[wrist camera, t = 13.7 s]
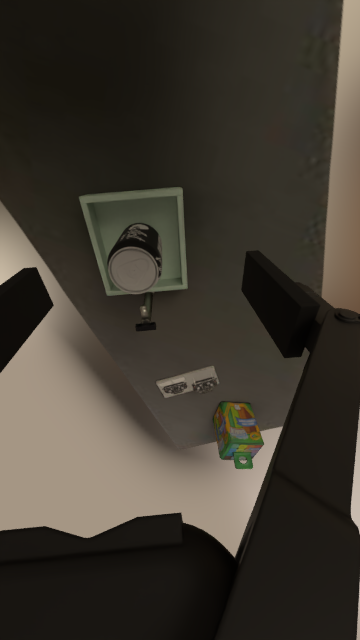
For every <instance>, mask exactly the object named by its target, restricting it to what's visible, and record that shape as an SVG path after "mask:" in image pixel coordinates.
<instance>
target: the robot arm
mask: <svg viewBox="0 0 360 640" xmlns="http://www.w3.org/2000/svg"><path fill="white" fill-rule="evenodd" d="M242 292H243V294H244V295H245V297H246V298H247V300H248V301H249V303H250V305H251V306H252V308H253V309H254V311H255V312H256V314H257V316H258V317H259V319H260V320H261V322H262V323H263V325H264V327H265V328H266V330H267V331H268V333H269V334H270V336H271V338H272V339H273V341H274V342H275V344H276V346H277V347H278V349H279V350H280V352H281V353H282V355H283V357H284V358H292V357H301V356H302V353H303V350H304V348H305V347H306V348H307V350H308V351H309V352H310V354H309V357H308V359H307V362H306V364H305V367H304V369H303V373H302V376H301V379H300V382H299V384H298V387H297V390H296V393H295V395H294V398H293V401H292V404H291V406H290V409H289V412H288V415H287V417H286V420H285V423H284V426H283V429H282V431H281V434H280V437H279V439H278V442H277V445H276V448H275V451H274V453H273V456H272V459H271V462H270V464H269V467H268V470H267V473H266V476H265V478H264V481H263V484H262V487H261V489H260V492H259V495H258V497H257V500H256V503H255V506H254V508H253V511H252V513H251V516H250V519H249V521H248V524H247V526H246V529H245V532H244V535H243V537H242V540H241V543H240V545H239V548H238V551H237V554H236V556H235V558H234V557H233V555H232V554H231V553H230V552H229V551H228V550H227V549H226V548H225V547H224V546H223V545H222V544H221V543H220V542H219V541H218V540H217V539H215V538H214V537H213V536H211V535H210V534H208V533H207V532H205V531H204V530H202V529H199V528H197V527H195V526H193V525H189V524H186V523H183V521H182V515H181V513H173V514H162V515H153V516H143V517H136V518H134V519H132V520H130V521H127V522H125V523H123V524H120V525H118V526H116V527H114V528H112V529H109V530H107V531H105V532H103V533H100V534H98V535H96V536H93V537H91V538H83V537H80V536H76V535H73V534H70V533H66V532H63V531H59V530H56V529H52V528H49V527H46V526H43V527H33V528H24V529H13V530H3V531H0V640H356V637H357V636H356V635H357V618H358V601H359V582H360V534H359V530H358V527H357V526H356V525H355V523H354V522H353V520H352V518H351V496H352V486H353V474H354V464H355V453H356V442H357V441H356V440H357V431H358V420H359V409H360V408H359V407H360V314H358V313H356V312H354V311H351V310H347V309H341V308H336V309H335V308H333V307H332V306H331V305H330V304H329V303H327V302H326V301H325V300H324V299H323V298H321V297H319V295H318V294H316V293H314V291H313V290H312V289H310V288H309V287H308V286H306V285H304V284H301V283H299V282H296V283H295V282H294V281H292V280H291V279H290V278H289V277H288V276H287V275H286V274H284V273H283V272H282V271H281V270H280V269H279V268H278V267H277V266H275V265H274V264H273V263H272V262H271V261H270V260H269V259H267V258H266V257H265V256H264V255H263V254H262V253H261V252H259V251H246V258H245V266H244V274H243V282H242ZM52 307H53V302H52V300H51V298H50V296H49V294H48V292H47V289H46V287H45V285H44V283H43V281H42V279H41V277H40V275H39V272H38V270H37V268H36V267H33V268H24V269H22V270H21V271H19V272H18V273H17V274H15V275H14V276H12V277H11V278H10V279H8V280H7V281H6V282H4V283H3V284H1V285H0V373H1V372H2V370H3V369H4V368H5V367H6V365H7V364H8V363H9V361H10V360H11V359H12V357H13V356H14V355H15V354H16V353H17V351H18V350H19V348H20V347H21V346H22V345H23V343H24V342H25V341H26V340H27V339H28V337H29V336H30V335H31V334H32V332H33V331H34V330H35V328H36V327H37V326H38V325H39V323H40V322H41V321H42V320H43V318H44V317H45V316H46V315H47V313H48V312H49V311H50V309H51V308H52Z"/></svg>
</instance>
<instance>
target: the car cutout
mask: <svg viewBox="0 0 360 640" xmlns="http://www.w3.org/2000/svg"><path fill="white" fill-rule="evenodd" d="M156 384H157V385H158V387H159V389H160V390H161V392H162V394H163V395H164V397H165V398H167V397H170V396H174V395H178V394H182V393H186V392H189V391H193V390H194V391H195V392H197V391H198V392H199V393H200V394H203V393H208V392H210V391H212V389H213V387H215V386H216V385H217V384H219V381H218V378H217V375H216V372H215V369H214V366H210V367H206V368H203V369H199V370H195V371H192V372H188V373H184V374H181V375H177V376H174V377H170V378H166V379H163V380H159V381H156Z"/></svg>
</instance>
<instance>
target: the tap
mask: <svg viewBox="0 0 360 640" xmlns="http://www.w3.org/2000/svg"><path fill="white" fill-rule="evenodd" d="M154 293H155V292H145V298H144V304H143V305H141V306H140V312H141V317H142V319H141V324H136V331H147V330H156V323H155V322H152V323H151V313H152V300H153V294H154Z"/></svg>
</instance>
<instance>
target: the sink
mask: <svg viewBox="0 0 360 640" xmlns="http://www.w3.org/2000/svg"><path fill="white" fill-rule="evenodd" d="M79 200H80V203H81V207H82V210H83V214H84V217H85V221H86V224H87V228H88V231H89V234H90V238H91V241H92V245H93V248H94V252H95V255H96V259H97V262H98V265H99V269H100V272H101V276H102V279H103V283H104V286H105V290H106V293H107V296H111V295H122V294H130V293H126V292H124V291H122V290H120V289H119V288H118V287H116V286H115V284H114V283H113V282H112V280H111V278H110V276H109V271H108V267H107V259H108V255H109V253H110V251H111V250H112V248H113V246H114V245H115V243H116V242H117V240H118V239H119V237H120V236H121V234H122V233H123V231H124V230H125V229H126V228H127V227H128V226H129V225H131V224H134V223H144V224H148V225H150V226H151V227H153V228H154V229H155V230H156V231H157V232H158V234H159V235H160V237H161V240H162V274H161V277H160V279H159V281H158V282H157V283H156V284H155V285H154V286H153V287H152V288H151V289H150V290H149V291H147V292H156V291H167V290H178V289H187V269H186V249H185V229H184V209H183V189H182V188H181V187H172V188H160V189H147V190H135V191H123V192H110V193H98V194H86V195H83V196H80V197H79Z"/></svg>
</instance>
